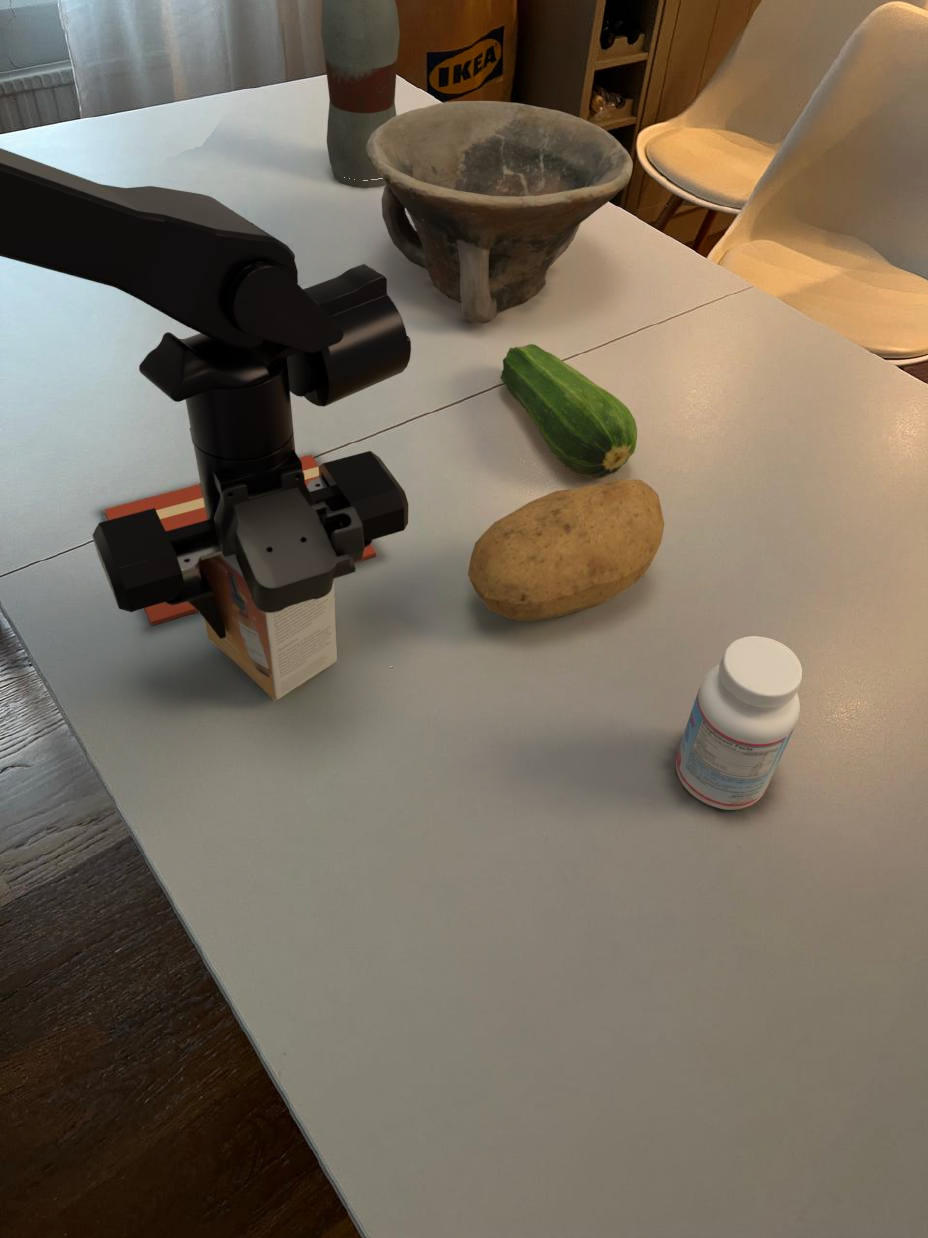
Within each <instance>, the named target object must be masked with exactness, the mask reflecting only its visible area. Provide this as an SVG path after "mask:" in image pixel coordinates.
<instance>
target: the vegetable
mask: <svg viewBox="0 0 928 1238" xmlns="http://www.w3.org/2000/svg"><path fill="white" fill-rule="evenodd" d="M502 366H503V367H502V371H501V375H500V377H499V378H500V380H501V382H502V383H504V385H505V386H506V389H507V390H508V391H509V393H510V394H511V396H512V397H513V398H514V399H515V401H517V403H519V404H520V405H521V406H522V408H523V409H524V410H525V412H526V413H527V414H528V417H530V419H531V420H532V422H533V424H534V425H535V427H536V428H537V430H538V432H539V433H540V435H541V437H542V439H543V441H544V442H545V443H546V445H547V447H548V448H549V451H550V452H551V453H552V454H553V455H554V457H556V458H557V460H558V461H559V462H560V463H561V464H562V465H563V466H564V467H566V468H567V469H568V470H570V471H572V472H573V473H575V474H577V475H581V476H584V477H587V478H593V479H600V478H605V477H607V476H608V475H612V474H615V473H617V472H618V471H619V470H620V469H621V467H623V466H624V465H625V464H626V463H627V461H628V460H629V459H630V458H631V456H632V455H633V454H634V453H635V451H636V448H637V441H638V427H637V423H636V418H635V417H634V416H633V414H632V412H631V411H630V409H629V408H628V407H627V405H626V404H624V403H623V402H622V401H621V400H620V399H619V398H618V397H616V396H615V395H614V394H612V393H610V392H609V391H608V390H606V389H604V388H603V387H601V386H599V385H598V384H597V383H595V382H593V381H592V380H591V379H589V378H588V377H586V376H585V375H584V374H583V373H581V372H580V371H578V370H577V369H575V368H574V367H573V366H571V365H569V364H567V363H566V362H564V361H563V360H561V359H560V358H559V357H557V355H554V354H553V353H551V352H548V351H546V350H544V349H543V348H541V347H539V346H538V345H536V344H533V343H530V344H527V345H524V346H515V347H509V349H508V351H507V353H506V356H505V357H504V358H503V359H502Z"/></svg>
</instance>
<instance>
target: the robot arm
mask: <svg viewBox="0 0 928 1238" xmlns="http://www.w3.org/2000/svg"><path fill="white" fill-rule="evenodd" d="M0 257H2V258H6V259H9V260H14V261H17V262H19V263H24V264H27V265H32V266H35V267H39V268H41V269H46V270H50V271H53V272H57V273H60V274H64V275H67V276H71V277H75V278H79V279H83V280H87V281H89V282H94V283H97V284H101V285H105V286H109V287H112V288H115V289H117V290H119V291H122V292H123V293H125V294H127V295H129V296H131V297H133V298H135V299H137V300H139V301H140V302H143V303H145V304H146V305H148V306H150V307H151V308H153V309H155V310H157V311H159V312H160V313H162V314H164V315H166V316H167V317H169V318H170V319H172V320H174V321H176V322H178V323H179V324H181V325H183V326H185V327H187V328H189V329H191V330H194V331H195V332H197V334H194V335H191V336H188V337H186V338H178V337H177V336H176V335H175V334H173V333H172V332H170V331H168V332H165V333H164V334H163V335H162V338H161V340H160V342H159V343H158V345H157V346H156V347H154V349H152V350H150V351H149V352H148V354H147V355H145V358H144V359H143V360H142V361H141V362H140V364H139V366H138V370H139V373H140V374H141V375H142V376H143V377H145V378H146V379H147V380H148V381H149V382H151V383H152V385H154V386H155V387H156V388H157V389H158V390H160V391H161V392H162V393H164V394H165V395H166V396H167V397H168V398H170V399H171V400H172V401H174V402H175V403H180V402H182V401H184V400H185V406H186V410H187V415H188V422H189V427H190V428H189V433H190V439H191V443H192V445H193V450H194V456H195V462H196V467H197V472H198V478H199V482H200V483H199V484H200V488H201V494H202V497H203V500H204V506H205V511H206V517H207V520H205V521H202V522H198V523H194V524H191V525H187V526H183V527H180V528H176V529H172V530H169V531H165V529H164V527H163V525H162V522H161V520H160V518H159V516H158V514H157V512H156V510H155V508H153V509H149V510H145V511H141V512H138V513H134V514H130V515H126V516H122V517H119V518H115V519H111V520H108V519H106V520H104V521H100V522H98V524H97V526H96V527H95V529H94V531H93V533H92V539H93V540H92V541H93V543H94V546H95V550H96V554H97V556H98V559H99V561H100V564H101V567H102V569H103V572H104V574H105V577H106V579H107V583H108V584H109V587H110V590H111V593H112V594H113V597H114V600H115V602H116V605H117V607H118V610H121V611H126V612H128V613H133V612H136V611H137V612H138V611H140V610H143V609H145V608H147V607H150V606H153V605H157V604H160V603H163V602H165V603H166V604H168V605H177V604H180V603H184V602H189V603H190V604H191V605H192V606H193V607H195V608H196V609H197V610H198V611H197V612H199V614H200V615H201V616H202V617H203V619H204V621H205V620H206V621H207V622H208V624H209V625H210V626H211V627H212V629H213V630H214V631H215V633H216V634H217V635H218V637H219V638H220V639H222V638H225V637H226V631H225V625H224V622H223V619H222V616H221V614H220V611H219V609H218V606H217V603H216V601H215V598H214V595H213V593H214V592H213V589H212V587H211V585H210V583H209V581H208V579H207V577H206V575H205V573H204V571H203V569H202V567H201V565H200V562H201V561H202V560H205V559H208V558H212V557H215V556H218V555H222V554H223V555H224V557H227V556H230V555H234V554H236V559H237V562H238V564H239V567H240V569H241V572H242V574H243V576H244V579H245V581H246V584H247V586H248V589H249V591H250V594H251V597H252V600H253V602H254V604H255V606H256V607H257V608H258V609H260V610H261V611H263V612H267V613H273V612H277V611H281V610H283V609H284V608H286V607H289V606H292V605H295V604H298V603H301V602H305V601H308V600H311V599H319V598H322V597H324V596H326V595H327V594H328V593H329V592H330V591H331V589H332V585H333V580H335V579H337V578H340V577H344V576H347V575H350V574H353V573H356V564H355V563H356V562H355V561H358V560H361V559H362V557H363V553H364V548H366V547H368V546H369V545H370V544H371V545H372V542H373V540H377V539H379V538H384V537H386V536H390V535H394V534H396V533H397V534H398V533H401V532H403V531H404V532H405V529H406V528H407V526H408V524H409V501H408V498H407V495H406V492H405V490H404V488H403V487H402V486H401V484H400V483H399V482H398V480H397V479H396V478H395V476H394V475H393V474H392V472H391V471H390V469H389V468H388V467H387V466H386V464H385V463H384V461H383V460H382V459H381V457H380V456H379V455H377V454H376V453H374V452H373V451H372V450H368V451H364V452H360V453H357V454H353V455H352V454H351V455H349V456H345V457H341V458H337V459H333V460H329V461H326V462H322V463H321V464H320V465H319V478H316V479H313V480H311V481H309V482H308V484H307V486H306V484H305V477H304V473H303V471H302V462H301V460H300V459H299V458H300V457H299V456H298V454H297V453H296V445H295V443H296V442H295V433H294V432H295V431H294V422H293V413H292V412H293V411H292V399H291V393H292V394H293V395H294V396H296V397H300V398H303V397H304V399H306V400H307V401H308V402H309V403H311V404H312V405H315V406H317V407H323V408H324V407H327V406H329V405H331V404H334V403H336V402H339V401H341V400H343V399H345V398H347V397H349V396H352V395H354V394H356V393H358V392H361V391H364V390H365V389H368V388H370V387H371V386H372V387H373V386H374V385H377V384H379V383H381V382H384V381H386V380H389V379H391V378H393V377H394V376H397V375H399V374H401V373H403V372H405V370H406V369H407V368H408V365H409V363H410V360H411V354H412V341H411V338H410V336H408V334H407V329H406V327H405V323H404V321H403V318H402V315H401V313H400V311H399V310H398V307H397V306H396V304H395V303H394V301H393V300H392V299H391V297H390V296H389V295H388V278H387V276H385V275H383V274H382V273H380V272H379V271H377V270H376V269H374V268H373V267H371V266H369V265H367V264H366V263H362V264H359V265H357V266H354V267H351V268H350V269H347V270H346V271H344V272H342V273H341V274H340V275H337V276H336V277H333V278H330V279H328V280H325V281H322V282H319V283H316V284H314V285H312V286H309V287H305V288H302V287H301V286H300V285H299V278H298V277H299V270H298V267H297V264H296V254H295V253H294V251H293V250H292V249H291V248H290V246H288V245H287V244H286V243H285V242H284V241H283V242H282V241H281V240H280V239H278V238H276V237H275V236H274V235H272V234H270V233H269V232H267V231H266V230H264V229H262V228H260V227H259V226H257V225H256V224H254V223H253V222H252V221H250V220H248V219H247V218H245V217H243V216H242V215H241V214H239V213H237V212H236V211H234V210H232V209H231V208H229V207H228V206H226V205H224V204H223V203H221V202H220V201H219V200H217V199H216V198H214V197H213V196H210V195H207V194H204V193H197V192H191V191H185V190H180V189H173V188H167V187H161V186H154V185H144V186H132V187H122V186H121V187H120V186H114V185H107V184H101V183H98V182H95V181H94V180H93V181H92V180H90V179H87V178H84V177H82V176H79V175H76V174H73V173H70V172H68V171H65V170H62V169H59V168H57V167H54V166H51V165H48V164H46V163H42V162H40V161H38V160H35V159H31V158H29V157H26V156H23V155H20V154H17V153H15V152H12V151H10V150H8V149H4V148H1V147H0ZM354 562H355V563H354Z"/></svg>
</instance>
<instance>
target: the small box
mask: <svg viewBox="0 0 928 1238" xmlns="http://www.w3.org/2000/svg"><path fill="white" fill-rule="evenodd" d="M200 565H201V567H202V569H203V571H204V573H205V575H206V577H207V579H208V581H209V583H210V585H211V587H212V589H213V592H214V593H213V595H214V598H215V601H216V603H217V606H218V609H219V611H220V614H221V616H222V619H223V622H224V625H225V631H226V637H225V638H222V639H220V638H219V637H218V635H217V634H216V633H215V631H214V630H213V629H212V627H211V626H210V625H209V624H208V622H207V621H206V620H205V619H204V623H205V628H206V634H207V638H208V640H209V641H210V642H212V644H214V645H215V646H216V647H218V648H219V649H220V650H221V651H222V652H223V653H224V654H226V655H227V656H228V657H229V658H230V659H231V660H232V661H233V662H234V663H235V664H236V665H237V666H238V667H239V668H241V670H243V672H244V673H246V675H247V676H249V677H250V678H251V679H252V680H253V681H254V682H255V683H256V684H257V685H258V686H259V687H260V688H261V689H263V690H264V692H265V693H266V694H267V695H268V696H270V697H271V698H272V699H273V700H274V701H278V700H280V699H281V698H283V697H284V696H285V695H287V694H289V693H290V692H292V691H293V690H295V689H296V688H298V687H300V686H301V685H303V684H304V683H306V682H307V681H309V680H310V679H312V678H314V677H316V676H317V675H319V674H320V673H321V672H323V671H325V670H326V669H327V668H329V667H331V666H332V665H334V664H335V663H336V662H337V661H338V654H337V653H338V651H337V628H336V627H337V626H336V606H335V605H336V603H335V585H334V580H335V579H334V580H333V585H332V589H331V591H330V592H329V593H328V594H327V595H326V596H324V597H322V598H319V599H311V600H308V601H305V602H301V603H298V604H295V605H292V606H289V607H286V608H284V609H283V610H281V611H277V612H273V613H267V612H263V611H261V610H260V609H258V608H257V607H256V606H255V604H254V602H253V600H252V597H251V594H250V591H249V589H248V586H247V584H246V581H245V579H244V576H243V574H242V572H241V569H240V567H239V564H238V562H237V559H236V554H234V555H230V556H227V557H224V555H223V554H222V555H218V556H215V557H212V558H208V559H205V560H202V561H201V562H200Z"/></svg>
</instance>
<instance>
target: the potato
mask: <svg viewBox="0 0 928 1238" xmlns="http://www.w3.org/2000/svg"><path fill="white" fill-rule="evenodd" d="M660 501H661V500H660V496H659V494H658V493H657V492H656V491H655V490H654V488H653V487H652V486H651V485H649V484H648V483H646V482H644V481H643V480H642V479H634V478H633V479H631V478H630V479H627V478H621V479H620V478H619V479H616V480H615V479H614V480H611V481H605V482H600V483H596V484H590V485H586V486H581V487H575V488H568V489H560V490H555V491H552V492H550V493H548V494H545V495H542V496H541V497H539V498H536V499H534V500H531V501H529V502H527V503H526V504H524V505H522V506H521V507H519V508H518V509H516V510H514V511H512V512H511V513H509V514H507V515H505V516H504V517H501V518H499V519H498V520H496V521H495V522H493V523H492V524H491V525H490V526H489V527H488V528H487V529H486V530H485V531H484V532H483V534H481V536H480V537H479V538H478V539H477V540H476V542H475V543H474V546H473V549H472V552H471V555H470V561H469V564H468V570H467V576H468V577H467V578H468V579H469V581H470V584H471V585H472V586H471V587H472V589H473V591H475V593H476V594H477V595H478V597H479V598H480V600H481V601H482V602H483V603H484V604H485V606H486V607H487V608H488V610H489V611H492V612H495V613H497V614H499V615H502V616H503V617H506V618H509V619H511V620H514V621H521V622H522V621H523V622H537V621H538V622H539V621H542V620H549V619H553V618H557V617H561V616H565V615H570V614H574V613H576V612H580V611H583V610H587V609H590V608H593V607H596V606H598V605H600V604H602V603H605V602H607V601H609V600H610V599H613V598H614V597H615V596H617V595H619V594H621V593H622V592H624V591H626V590H628V589H629V588H630V587H632V586H633V585H634V584H636V583H638V582H639V581H640V580H641V579H643V578H644V576H645V575H646V573H647V571H648V569H649V568H650V566H651V564H652V563H653V561H654V559H655V557H656V555H657V552H658V551H659V549H660V546H661V544H662V540H663V534H664V530H665V519H664V516H663V510H662V505H661V502H660Z"/></svg>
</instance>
